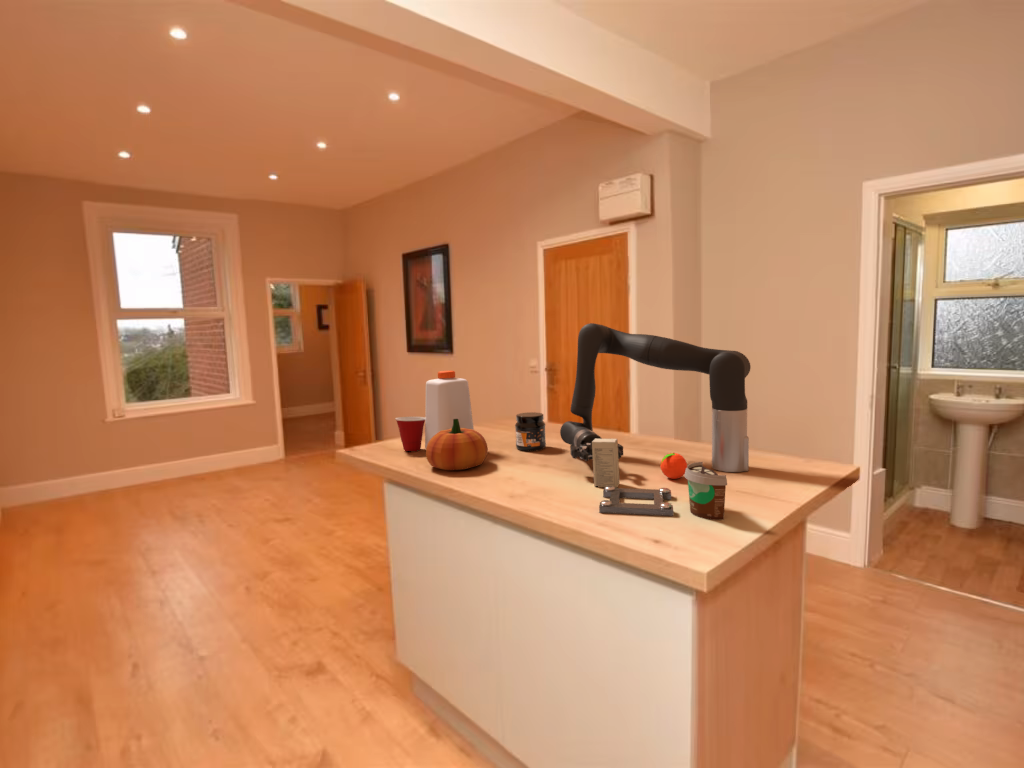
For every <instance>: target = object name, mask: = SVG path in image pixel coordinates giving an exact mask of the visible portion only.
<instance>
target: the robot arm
mask: <svg viewBox="0 0 1024 768" xmlns="http://www.w3.org/2000/svg"><path fill="white" fill-rule="evenodd" d="M599 354H611V355H617V356H622V357H626V358H628V359H630V360H633V361H635V362H638V363H641V364H643V365H646V366H651V367H654V368H659V369H663V370H672V371H682V372H683V371H685V372H686V371H687V372H696V373H697V372H698V373H703V374H706V375H708V376H709V377H708V379H709V397H710V400H711V469H712V470H716V471H719V472H724V473H725V472H726V473H740V472H749V465H750V464H749V459H750V458H749V457H750V456H749V452H750V451H749V449H750V446H749V443H750V441H749V439H750V438H749V436H748V398H747V395H746V386H745V385H746V384H745V383H746V377H747V376H748V375H749V374H750V372H751V362H750V360H749V359H748V357H747V356H746V355H745V354H744V353H742V352H741V351H737V350H729V349H727V350H724V349H716V348H709V347H708V348H707V347H703V346H698V345H695V344H692V343H688V342H685V341H681V340H678V339H677V340H676V339H672V338H669V337H663V336H659V335H653V334H642V333H641V334H640V333H630V332H629V333H628V332H624V331H620V330H618V329H616V328H615V329H614V328H611V327H608V326H606V325H603V324H598V323H593V322H592V323H591V322H590V323H587V324H584V325H583V326H582V327H581V329H580V330H579V332H578V336H577V356H576V357H577V358H576V370H575V371H576V372H575V374H576V375H575V383H574V389H573V392H572V393H573V394H572V398H571V405H570V412H571V413H572V414H573V415H575V416H577V417H580V418H582V422H577V421H571V420H568V421H565V422H564V423H562V425H561V426H560V431H559V433H560V438H561V440H562V442H564V443H565V444H567V445H569V449H570V450H569V451H570V453H569V454H570V455H571V457H572V459H574V460H576V459H578V458H579V459H581V460H583V461H585V462H589V460H593V453H592V441H593V440H594V439H603V438H602V437H601V436H600V435H599V434H598V433H596V432H595V431H594V430H593V420H592V419H593V418H592V417H593V407H594V404H595V403H594V402H595V397H596V377H595V375H596V374H595V373H596V372H595V371H596V370H595V367H596V362H597V358H598V355H599ZM622 456H624V446H623V445H622V444H620V443H618V460H620V459H621V457H622Z"/></svg>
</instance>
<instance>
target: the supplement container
mask: <svg viewBox="0 0 1024 768" xmlns="http://www.w3.org/2000/svg"><path fill="white" fill-rule="evenodd" d="M544 419H545V417H544V413H542V412H535V411H534V412H532V411H531V412H521V413H517V414H516V415H515V420H516V422H515V424H514V428H515V448H516V449H517V450H519V451H522V452H537V451H536V450H538V451H542V450H543V448H544V449H545V448H546V446H547V444H546V422H544ZM541 449H542V450H541Z"/></svg>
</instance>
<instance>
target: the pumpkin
mask: <svg viewBox="0 0 1024 768" xmlns="http://www.w3.org/2000/svg"><path fill="white" fill-rule="evenodd" d="M488 448H489V447H488V443H487V441H486V439H485V437H484V436H483V434H481V433H480V432H479V431H478V430H475V429H474V430H473V429H467V428H460V425H459V421H458V419H453V427H452V428H451V429H447V430H442V431H440V432H438V433H437V434H435V435H434V436H433V437H432V438H431V439H430V441H429V442H428V444H427V448H426V449H425V457H426V460H427V462H428V463H429V465H430V466H431V467H433V468H436V469H441V470H445V471H463V470H468V469H472V468H475V467H477V466H479V465H480V466H481V465H482V463H484V461H485V460H486V458H487V455H488V452H489V451H488V450H489V449H488Z"/></svg>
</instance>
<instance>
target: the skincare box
mask: <svg viewBox="0 0 1024 768" xmlns="http://www.w3.org/2000/svg"><path fill="white" fill-rule="evenodd" d="M618 442H619V441H618V438H602V439H594V440H593V441H592V453H593V459H592V467H593V468H592V469H593V471H592V472H593V485H594V486H598V487H597V488H605V487H606V486H614V487H615V488H619V485H620V467H619V466H620V465H619V460H620V459H618V444H619V443H618Z"/></svg>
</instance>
